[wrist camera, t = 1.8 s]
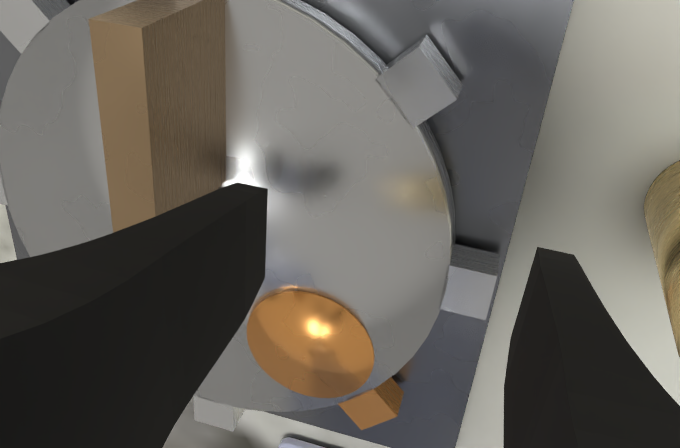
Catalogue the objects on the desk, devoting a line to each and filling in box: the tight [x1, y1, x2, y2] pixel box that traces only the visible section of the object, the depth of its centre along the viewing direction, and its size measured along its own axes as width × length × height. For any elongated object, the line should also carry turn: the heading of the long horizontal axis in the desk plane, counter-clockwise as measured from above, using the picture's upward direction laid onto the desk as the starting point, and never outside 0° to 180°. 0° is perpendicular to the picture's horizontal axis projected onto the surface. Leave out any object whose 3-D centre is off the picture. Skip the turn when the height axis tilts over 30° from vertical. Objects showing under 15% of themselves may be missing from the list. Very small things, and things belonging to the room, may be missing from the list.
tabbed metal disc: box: [0, 0, 500, 431], centre depth 19 cm, size 18×18×5 cm
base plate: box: [0, 0, 574, 448], centre depth 22 cm, size 18×18×1 cm
